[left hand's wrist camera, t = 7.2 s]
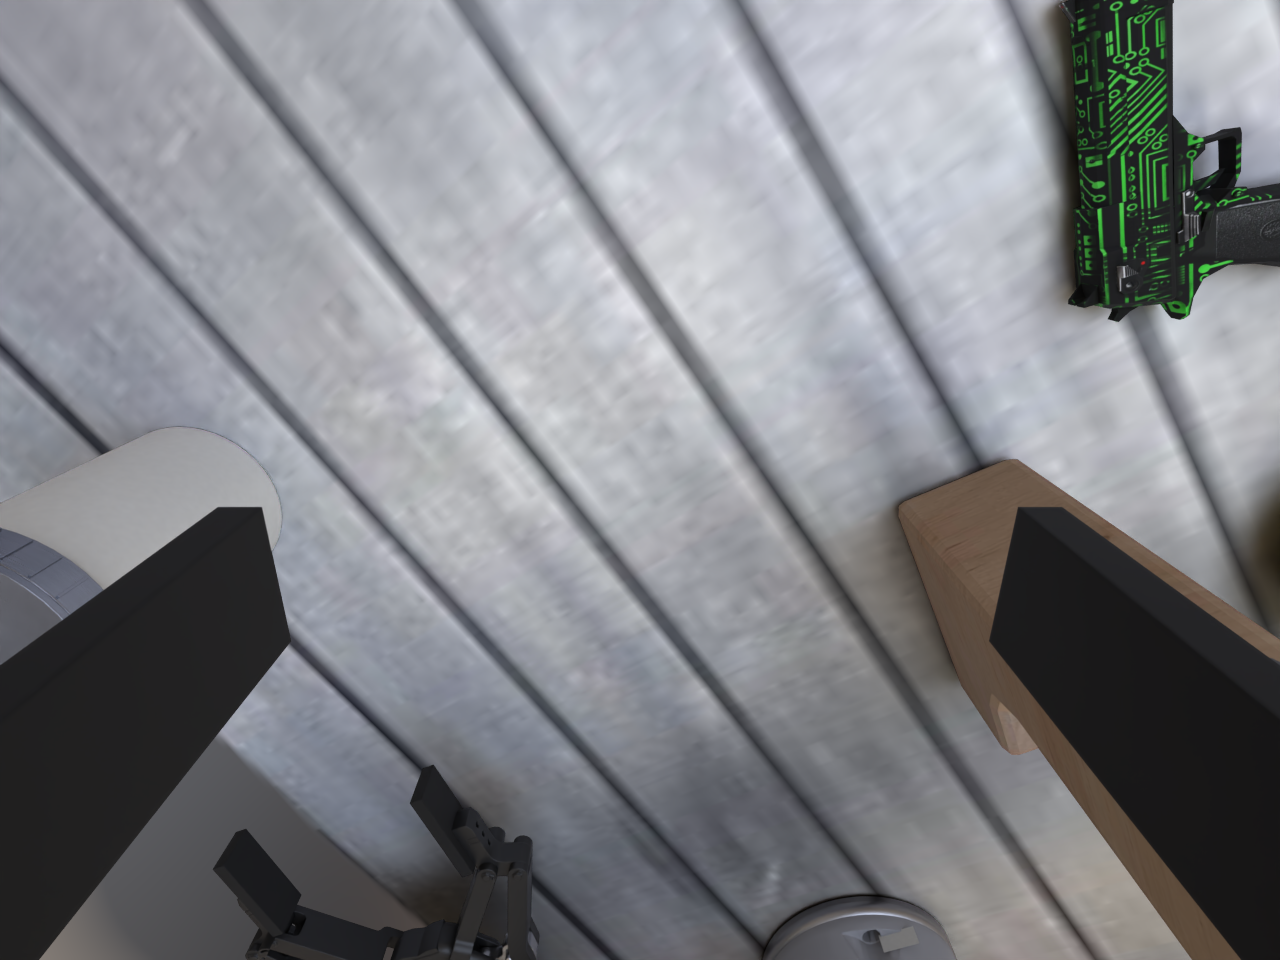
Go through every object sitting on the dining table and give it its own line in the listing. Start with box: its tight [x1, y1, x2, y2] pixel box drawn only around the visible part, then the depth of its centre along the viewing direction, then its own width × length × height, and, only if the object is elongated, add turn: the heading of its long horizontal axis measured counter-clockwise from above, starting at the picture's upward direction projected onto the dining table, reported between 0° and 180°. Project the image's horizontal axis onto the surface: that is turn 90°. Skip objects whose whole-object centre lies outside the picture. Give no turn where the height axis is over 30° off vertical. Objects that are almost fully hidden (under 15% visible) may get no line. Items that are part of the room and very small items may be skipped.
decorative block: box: [898, 459, 1280, 960], centre depth 30 cm, size 8×15×30 cm, turn 25°
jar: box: [0, 427, 282, 590], centre depth 35 cm, size 10×10×16 cm
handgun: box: [1059, 0, 1280, 322], centre depth 34 cm, size 16×3×15 cm
